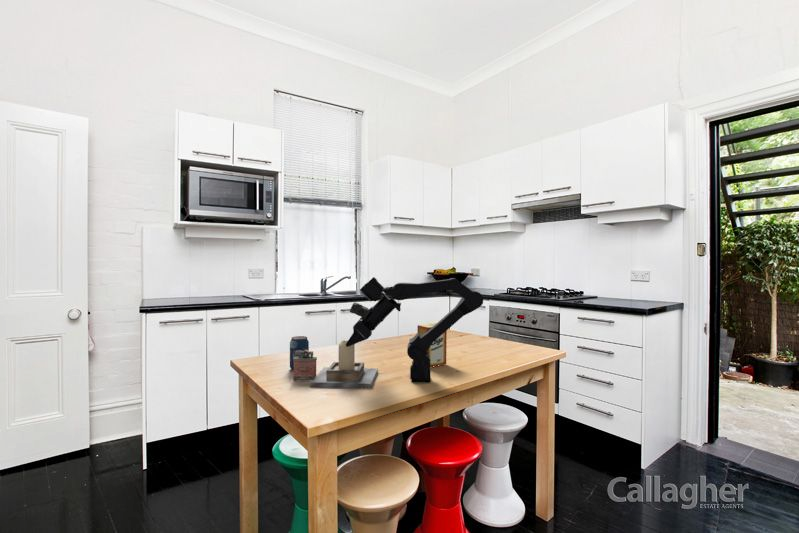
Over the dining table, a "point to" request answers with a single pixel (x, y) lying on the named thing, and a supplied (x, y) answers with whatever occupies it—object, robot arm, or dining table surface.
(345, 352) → the candle
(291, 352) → the soda can
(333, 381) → the candle stand
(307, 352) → the lighter
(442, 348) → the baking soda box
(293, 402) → the dining table surface
